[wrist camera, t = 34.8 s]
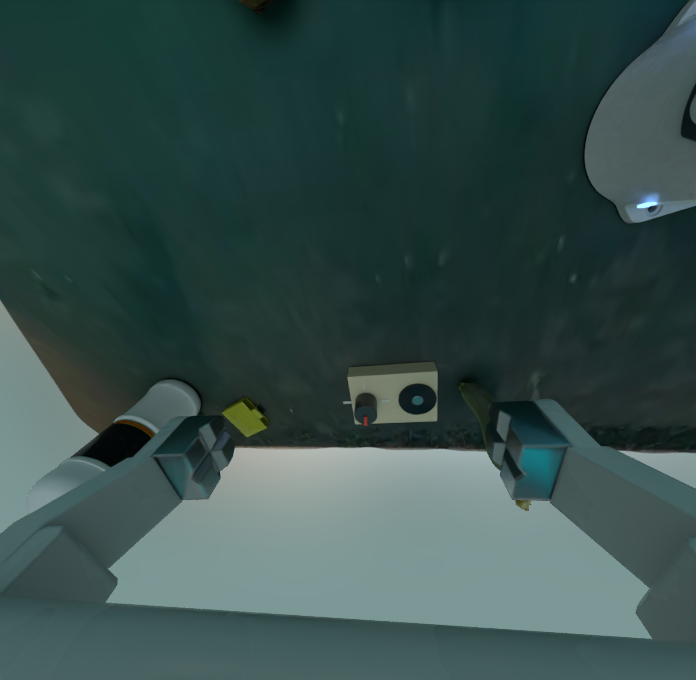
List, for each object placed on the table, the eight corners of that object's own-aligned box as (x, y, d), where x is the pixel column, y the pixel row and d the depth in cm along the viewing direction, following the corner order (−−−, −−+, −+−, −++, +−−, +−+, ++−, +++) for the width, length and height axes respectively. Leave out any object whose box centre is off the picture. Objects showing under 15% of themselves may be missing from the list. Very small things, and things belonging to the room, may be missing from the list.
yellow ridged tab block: (215, 404, 50) (207, 414, 48) (249, 386, 47) (242, 395, 45) (249, 437, 53) (243, 449, 51) (283, 422, 51) (278, 433, 48)
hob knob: (355, 392, 42) (353, 407, 39) (377, 393, 42) (377, 408, 38) (355, 409, 44) (354, 425, 40) (376, 410, 43) (377, 426, 40)
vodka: (211, 412, 51) (32, 630, 24) (172, 417, 53) (-37, 627, 26) (188, 373, 47) (-53, 582, 20) (147, 380, 49) (-127, 582, 22)
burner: (436, 382, 40) (437, 384, 39) (435, 412, 42) (436, 414, 42) (397, 384, 41) (397, 386, 40) (399, 413, 43) (399, 415, 43)
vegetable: (476, 369, 42) (555, 485, 24) (487, 388, 43) (569, 511, 25) (451, 381, 43) (507, 499, 25) (462, 399, 44) (523, 523, 27)
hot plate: (433, 361, 42) (438, 371, 39) (433, 409, 46) (437, 421, 43) (340, 367, 44) (338, 378, 41) (348, 412, 48) (347, 425, 45)
